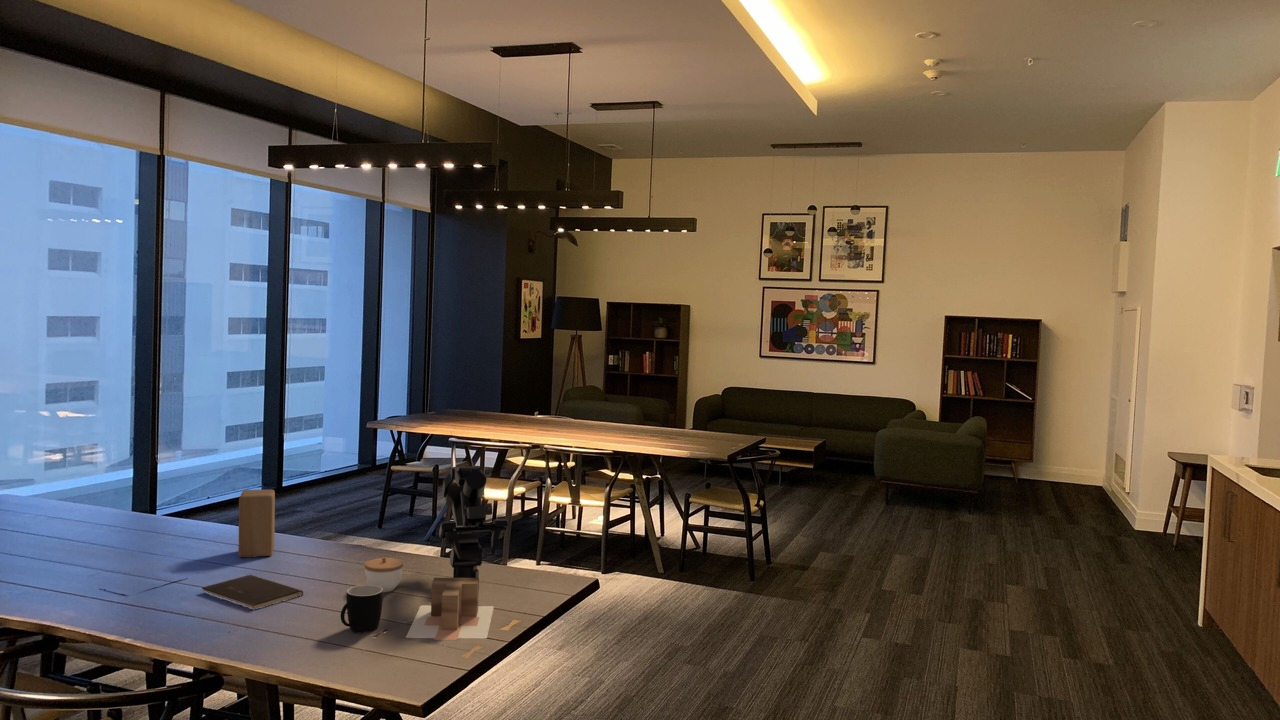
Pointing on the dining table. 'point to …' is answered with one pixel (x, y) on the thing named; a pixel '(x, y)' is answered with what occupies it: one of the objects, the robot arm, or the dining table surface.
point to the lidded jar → (384, 572)
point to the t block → (454, 600)
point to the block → (256, 523)
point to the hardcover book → (253, 591)
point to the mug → (363, 608)
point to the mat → (467, 628)
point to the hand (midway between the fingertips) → (476, 557)
